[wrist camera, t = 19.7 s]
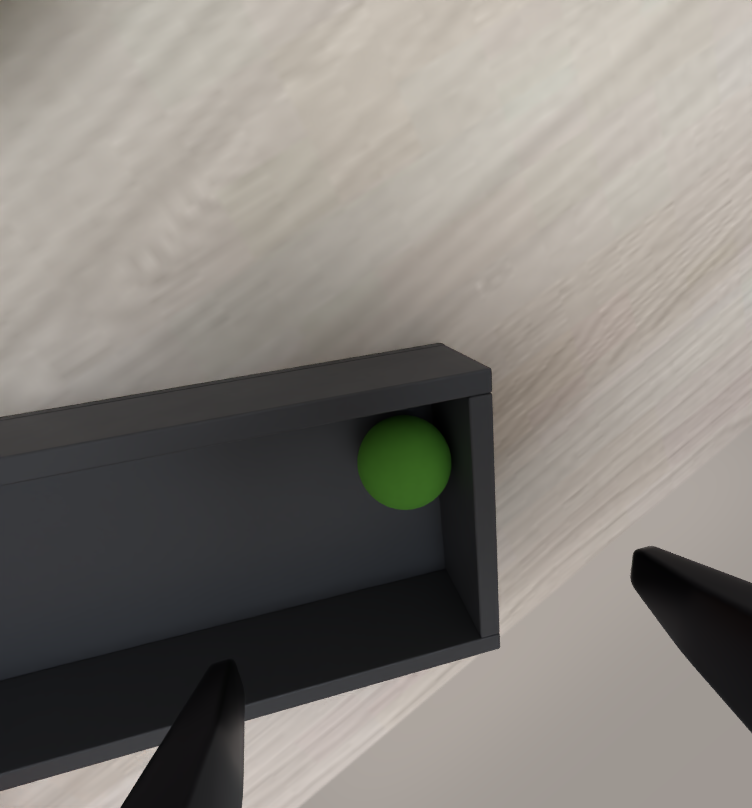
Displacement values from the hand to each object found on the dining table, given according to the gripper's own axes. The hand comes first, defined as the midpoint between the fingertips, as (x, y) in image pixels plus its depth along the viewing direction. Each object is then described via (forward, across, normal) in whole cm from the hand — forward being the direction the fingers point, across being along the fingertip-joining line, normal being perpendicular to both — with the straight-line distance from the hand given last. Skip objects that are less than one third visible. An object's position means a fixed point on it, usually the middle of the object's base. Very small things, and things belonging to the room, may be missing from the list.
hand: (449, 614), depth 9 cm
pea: (+8, 0, 0) cm, 8 cm away
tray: (+9, +9, +2) cm, 13 cm away
